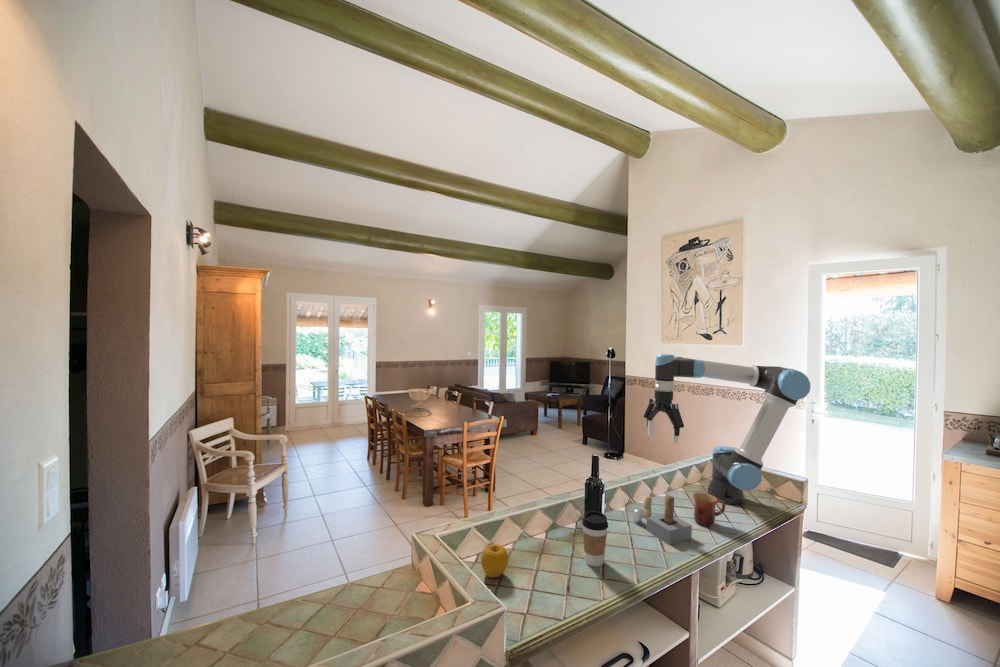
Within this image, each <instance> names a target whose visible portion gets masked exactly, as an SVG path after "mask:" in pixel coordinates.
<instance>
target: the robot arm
mask: <svg viewBox="0 0 1000 667" xmlns="http://www.w3.org/2000/svg"><path fill="white" fill-rule="evenodd" d="M654 366H655V368H654V369H655V371H654V372H655V377H654V389H655V390H654V395H653V396H654V398H649V402H648V405H647V407H646V410H645V412H644V414H643V418H645V419H646V427H647V436H654V434H655V432H654V431H655V430H654V429H655V425H654V424H655V423H654V422H655V420H654V418H655V417H656V416H657V414H658V413H659V412H662V413H665V414H666V415H667V417H668V418H669V420H670V422H671V424H672V426H673V427H672V430H671V432H672V433H671V444H673V445H675V444H678V443H679V437H680V433H681V431H680V430H681V429H682V428H684V427H685V424H684V422H683V418H682V415H681V413H680V408H679V404H678V403H673V400H674V389H675V388H674V383H675V377H676V378H693V379H696V378H697V379H699V378H700V379H701V378H706V379H714V380H721V381H729V382H734V383H739V384H741V383H742V384H748V385H749V386H750V387H754V388H758V389H762V390H764V397H765V399H764V401H763V402H762V405H761V407H760V408H759V411H758V412H757V414H756V416H755V418H754V420H753V422H752V424H751V426H750V427H749V430H748V431H747V433H746V435H745V437H744V439H743V441H742V443H741V445H740V447H739V448H738V447H732V446H725V445H724V446H721V445H720V446H714V448H712V453H711V454H712V463H711V466H712V470H711V480H710V483H709V485H708V487H707V489H706V491H707V492H706V494H709V495H712V496H714V497H716V498H717V499H720V500H723V501H724V502H725V505H726V504H727V505H736V506H737V505H742V504H744V503H745V502H746V495H745V493H744V491H751V490H755V489H756V488H758V487H759V486H760V484H761V482H762V480H763V477H762V476H763V475H762V472H761V471H762V468H763V466H764V463H763V460H762V459H763V457H764V455H765V453H766V452H767V449H768V447H769V446H770V443H771V442H772V440H773V438H774V436H775V435H776V433H777V431H778V429H779V427H780V425H781V423H782V421H783V419H784V418H785V415H786V414H787V413H788V410H789V409H790V408H792V407H795V406H796V404H797V403H798V402H799V400H802V399H804V398H807V396H808V395H809V393H810V391H811V381H810V379H809V377H808V376H807V375H806V374H805V373H804V372H802V371H799V370H797V369H794V368H787V367H782V366H767V365H766V366H765V365H764V366H763V365H755V364H753V365H751V366H745V365H738V364H731V363H724V362H717V361H709V360H701V359H694V358H687V357H682V356H675V355H674V354H669V353H668V354H667V353H666V354H665V353H664V354H663V353H659V354H657V355H656V357H655V364H654Z"/></svg>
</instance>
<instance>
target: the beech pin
mask: <svg viewBox="0 0 1000 667" xmlns="http://www.w3.org/2000/svg"><path fill="white" fill-rule="evenodd" d="M652 499H653V498H652V497H651V496H650V495H643V496H642V510H643V516H642V518H645V519H647V517H651V516H652Z"/></svg>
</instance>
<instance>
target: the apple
mask: <svg viewBox="0 0 1000 667" xmlns="http://www.w3.org/2000/svg"><path fill="white" fill-rule="evenodd" d="M481 553H482V554H481V556H480V562H481V567H482V570H483V572H484V573H485V575H486V576H487V577H489V578H491V579H494V578H498V577H500V576H501V575H503V573H504V572H505V570H506V569H507V567H508V564H509V554H508V551H507V549H506V548H505V547H504V546H503V545H501V544H495V543H494V544H490V545H487V546H485V547H484V549H483V550H482V552H481Z"/></svg>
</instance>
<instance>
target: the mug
mask: <svg viewBox="0 0 1000 667" xmlns="http://www.w3.org/2000/svg"><path fill="white" fill-rule="evenodd" d="M692 498H693V502H694V509H693V519H694V522H695V523H697V524H698V525H700V526H704V527H711V526H713V525H714V524H715V521H716V517H719V516H721V515H722V514H723V513H724V512H725V510H726V503H725V502H724V501H723V500H720V499H717V498H716V497H714V496H712V495H709V494H707V492H705V493H704V492H695V493H693V494H692ZM718 503H721V508H720V510H719V511H716V505H717V504H718Z"/></svg>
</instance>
